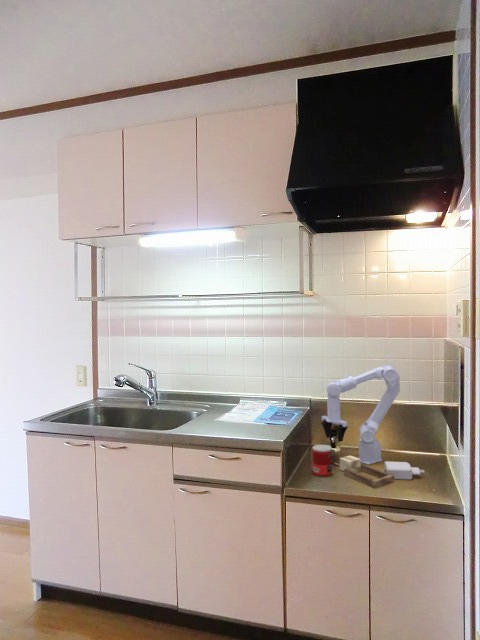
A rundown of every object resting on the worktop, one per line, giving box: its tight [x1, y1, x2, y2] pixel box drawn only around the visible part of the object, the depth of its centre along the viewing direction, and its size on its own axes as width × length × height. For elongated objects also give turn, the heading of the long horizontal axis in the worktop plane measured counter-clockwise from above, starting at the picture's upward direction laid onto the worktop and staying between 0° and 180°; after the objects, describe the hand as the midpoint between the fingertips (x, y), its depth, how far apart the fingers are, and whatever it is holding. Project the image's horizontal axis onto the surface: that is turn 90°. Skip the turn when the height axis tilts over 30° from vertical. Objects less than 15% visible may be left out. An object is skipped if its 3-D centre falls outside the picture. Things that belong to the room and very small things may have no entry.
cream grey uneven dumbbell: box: [332, 449, 362, 473], centre depth 202 cm, size 6×15×6 cm, turn 31°
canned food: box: [311, 444, 333, 478], centre depth 195 cm, size 8×8×11 cm
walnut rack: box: [343, 463, 395, 489], centre depth 189 cm, size 11×17×2 cm, turn 31°
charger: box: [384, 460, 425, 481], centre depth 191 cm, size 5×9×15 cm
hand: (334, 439), depth 211 cm, fingers open, 7 cm apart
